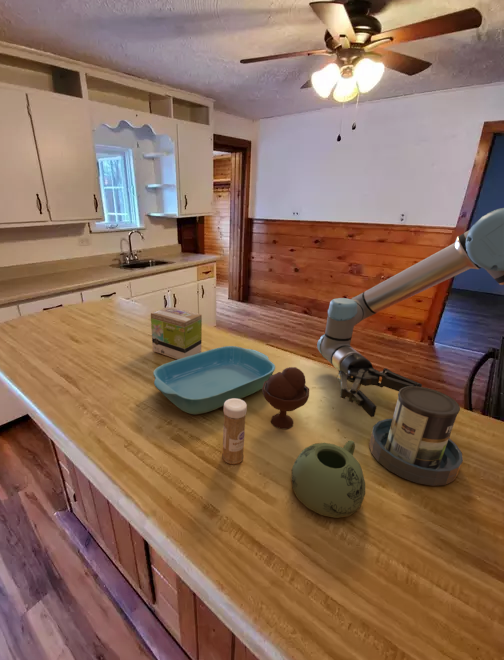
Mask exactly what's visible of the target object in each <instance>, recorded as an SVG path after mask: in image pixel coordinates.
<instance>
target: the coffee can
mask: <svg viewBox="0 0 504 660" xmlns="http://www.w3.org/2000/svg"><path fill="white" fill-rule="evenodd" d="M397 396H398V397H397V401H396V404H395V408H394V412H393V416H392V418H391V419H392V423H391V427H390V431H389V435H388V439H387V442H386V445H385V449H386V450H388V451H389V452H390V453H392V454H393V455H394V456H396V457H398V458H400V459H402V460H404V461H406V462H408V463H411V464H414V465H417V466H420V467H425V468H431V469H439V467H440V463H441V460H442V457H443V454H444V451H445V448H446V445H447V442H448V440H449V438H451V437H450V436H451V434H452V431H453V428H454V426H455V422H456V419H457V417H458V415H459V413H460V410H461V407H460V404H459V403H458V402H457V400H455V399H454V398H453V397H451V396H449V395H448V394H445V393H444V392H441V391H438V390H435V389H432V388H428V387H423V386H422V387H417V386H410V387H404V388H402V389H400V390H399V391H398V393H397Z"/></svg>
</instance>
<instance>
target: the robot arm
mask: <svg viewBox="0 0 504 660" xmlns="http://www.w3.org/2000/svg"><path fill="white" fill-rule="evenodd" d="M470 269H473V270H480V269H483V270H485V271H486V272H487V273H488V274H489V275H490V276H491V278H492V279H494V280H495V282H496V283H497V284H499V285H500V286H504V207H502V208H497V209H494V210H492V211H489V212H488V213H486V214H485V215H482V216H481V217H480V218H479V219H478V220H477V221H476V222H474V223H473V225H472V226H471V227H470V229H468V230H467V231H465V232H464V233H462V234H460V235H457V237H456V238H455V241H454V242H453V243H451V244H450V245H448V246H446V247H445V248H442V249H440V250H439V251H437V252H435V253H433V254H431V255H429V256H428V257H426V258H424V259H422V260H420V261H419V262H416V263H414V264H413V265H411V266H410V267H407V268H405V269H404V270H402V271H400V272H398V273H397V274H395V275H393V276H391V277H388V278H387V279H386V280H384V281H382V282H379V283H378V284H376V285H373V286H372V287H370V288H369V289H367V290H365V291H363V292H361V293H360V294H358V295H355V296H352V297H351V298H347V297H346V298H345V297H338V298H333V299H332V300H330V301H329V306H328V309H327V318H326V326H325V332H324V334H322V335H321V336H320V338H318V340H317V344H316V348H317V350H318V352H319V353H320V354H321V356H322V357H323V358H324V359H325V360H326V361H327V362H329V363H330V364H331V365H332V366H333V367H334V368H335V369H336V370H337V371H338V374H337V378H336V380H337V382H339V397H340V399H346V398H348V399H347V401H348V402H349V403H355V404H356V405H357V406H359V407H361V408H362V409H363V410H364V411H365V413H366V414H367V415H368V416H369V417H371V418H374V417H375V415H376V410H377V405H376V404H375V403H374V402H373V401H372V400H371V399H370V398H369V397H368V396H367V395H366V394H365V393H364V392H363V391H362V390H359V389H360V388H361V386H365V387H367V386H376V387H379V388H387V389H390V390H393V391H396V392H399V390H400V389H402V388H404V387H410V386H417V387H423V384H422V383H420V382H417V381H415V380H413V379H410V378H408V377H405V376H403V375H402V374H398V373H395V372H394V371H392V370H391V369H389V368H386V367H385V368H383V370H382V371H379V370H377V369H375V368H374V367H373V364H372V362H371V361H370V360H369V359H368V358H366V357H365V356H364V355H363V354H361V352H359V351H358V350H356V349H355V348H354V347H353V346H351V343H352V338H353V332H354V327H355V326H356V325H358V324H359V323H361V322H362V321H364V320H366V319H368V318H369V317H372V316H374V315H377V313H378V314H379V313H380V312H382V311H384V310H386V309H388V308H390V307H393V306H394V305H397V304H399V303H401V302H403V301H405V300H407V299H409V298H411V297H413V296H415V295H417V294H420V293H422V292H424V291H426V290H428V289H431V288H432V287H434V286H436V285H439V284H441V283H444V282H445V281H447V280H450V279H452V278H455V277H456V276H459V275H460V274H462V273H464V272H466V271H468V270H470ZM380 379H381V380H380ZM348 382H349V383H351V384H352V385H351V387H350V389H348Z"/></svg>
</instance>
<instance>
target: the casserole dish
mask: <svg viewBox="0 0 504 660" xmlns="http://www.w3.org/2000/svg"><path fill="white" fill-rule="evenodd" d="M275 370H276V365H275V363H273V362H272V361H271V360H270V359H269V356H268V355H266V354H265V353H263V352H260V351H258V350H256V349H251V348H245V347H241V346H237V345H235V346H234V345H226V346H221V347H216V348H211V349H209V350H205V351H201V353H198V354H194V355H191V356H188V357H185V358H181V359H178V360H177V359H175V360H172V361H169V362H165V363H163V364H161V365H159V366H157V367H156V368H155V369H154V370H153V373H152V374H153V378H154V380H153V381H154V382H153V385H154V387H155V388H156V389H157V390H158V391H159V392H160V393H161V394H162V395H163V396H164V397H165V398H166V399H167V400H168V401H170V402H171V403H172V404H173V405H174V406H175V407H177V408H178V409H179V410H181V411H183V412H184V413H187V414H189V415H193V416H194V415H201V414H206V413H209V412H212V411H214V410H217V409H219V408H222V407H224V403H225V401H227V400H228V399H233V398H236V399H241V400H242V399H244V398H247V397H248V396H250V395H251V396H252V395H253V394H254V393H255V394H256V393H257V392H259V391H260V390H262V388H263V384H264V382H265V381H267V380H268V379H269V377H270V376H271V375H274V372H275Z"/></svg>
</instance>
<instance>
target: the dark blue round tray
mask: <svg viewBox="0 0 504 660" xmlns="http://www.w3.org/2000/svg"><path fill="white" fill-rule="evenodd" d="M392 419H393V418H385V419H382V420H379V421H377V422H376V423H375V424H374V425H373V426H372V430H371V434H370V439H369V443H368V447H369V450H370V453H371V455H372V456H373V457H374V458H375V460H376V462H378V463H379V464H380V465H381V466H382V467H384V468H385V469H386V470H388V471H389V472H391V473H392V474H394V475H396V476H398V477H399V478H402V479H405V480H407V481H410V482H413V483H416V484H420V485H425V486H446V485H448V484H450V483H452V482H454V481H455V480H456V478H457V476H458V475H459V472H460V469H461V467H462V465H463V462H464V458H463V453H462V452H463V451H462V450H461V449H460V448H459V446H458V445H457V444H456V442H454V441H453V440H452V439H451V437H449V440H448V442H447V445H446V448H445V451H444V454H443V457H442V460H441V463H440V467H439V469H431V468H425V467H420V466H417V465H414V464H411V463H408V462H406V461H404V460H402V459H400V458H398V457H396V456H394V455H393V454H392V453H390V452H389V451H388V450H386V449H385V445H386V442H387V439H388V435H389V431H390V427H391V423H392Z"/></svg>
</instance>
